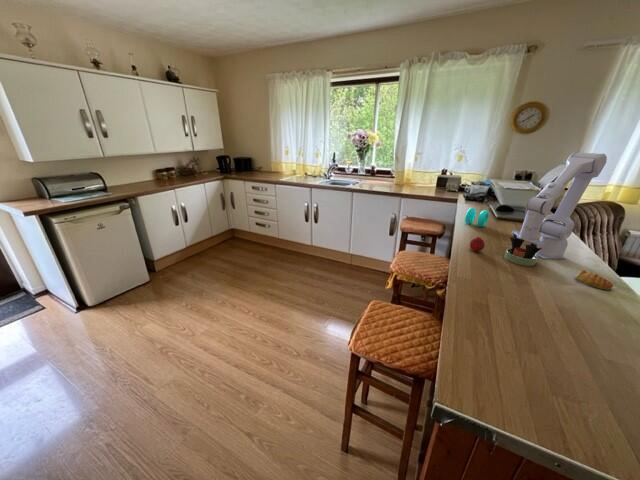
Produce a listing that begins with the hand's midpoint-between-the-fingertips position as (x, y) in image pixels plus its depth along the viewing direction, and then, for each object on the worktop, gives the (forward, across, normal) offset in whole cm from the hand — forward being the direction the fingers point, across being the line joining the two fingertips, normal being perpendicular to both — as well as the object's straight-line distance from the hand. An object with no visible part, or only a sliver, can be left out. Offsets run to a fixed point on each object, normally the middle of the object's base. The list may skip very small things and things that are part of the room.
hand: (520, 256), depth 109 cm
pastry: (+2, +18, +13) cm, 22 cm away
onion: (+2, -9, -14) cm, 17 cm away
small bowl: (+2, 0, 0) cm, 2 cm away
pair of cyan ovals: (+2, -46, +8) cm, 46 cm away
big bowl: (+2, 0, 0) cm, 2 cm away
